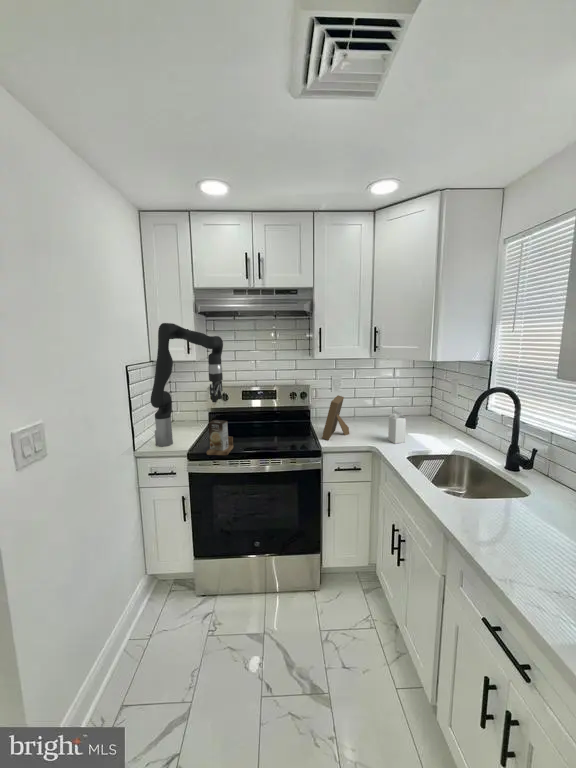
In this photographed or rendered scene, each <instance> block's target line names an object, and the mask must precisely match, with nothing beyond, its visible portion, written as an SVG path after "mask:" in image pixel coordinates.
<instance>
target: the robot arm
mask: <svg viewBox="0 0 576 768" xmlns="http://www.w3.org/2000/svg"><path fill="white" fill-rule="evenodd" d="M174 339H175V340H176V339H177V340H185V341H187V342H189V343H191V344H193V345H197V346H201V347H203V348H205V349H207V350H211V353H209V354H208V356H207V357H208V360H207V361H208V367H207V371H208V381H209V382H211V383H210V384H209V395H210V396H211V401H212V403H217V400H222V393H223V380H224V379H223V378H224V377H223V366H222V365H223V364H222V354H223V348H224V342H223V338H222V337H221V336H219V335H207V334H206V333H203V332H199V331H195V330H191V329H190V330H189V329H188V328H184V327H182V326H180V325H178V324H175V323H173V322H172V323H171V322H162V323H161V324H160V325H159V326H158V331H157V352H156V353H157V356H156V361H155V372H154V380H153V386H152V391H151V394H150V404H151V406H152V407H153V408H155V409H157V411H156V412H155V413H154V422H155V430H154V441H155V446H157V445H158V446H157V447H168V446H171V445H173V443H174V441H173V440H174V439H173V427H172V411H173V408H172V407H173V405H172V403H173V402H172V395H171V394H170V393H169V391H166V390H165V387H166V384H167V383H168V381H169V379H170V377H171V375H172V372H173V366H174V365H173V364H174V361H173V357H172V354H171V353H170V348H169V346H170V345H169V344H170V340H174Z"/></svg>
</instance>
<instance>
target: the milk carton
mask: <svg viewBox="0 0 576 768" xmlns="http://www.w3.org/2000/svg"><path fill="white" fill-rule="evenodd" d="M406 423H407V418H406V417H405V416H404V415H403V414H402V412H400V411H398V410H395V409H394V410H393V412H392V413H391V414H390V415H389V416H388V436H387V437H388V439H387V441H389V442H390V443H392V444H395V445H396V444H402V443H403V444H404V443H406V429H407V428H406Z"/></svg>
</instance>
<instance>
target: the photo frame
mask: <svg viewBox="0 0 576 768" xmlns="http://www.w3.org/2000/svg"><path fill="white" fill-rule="evenodd" d="M344 399H345V397H344V396H342V395H336V396H335V397H334V398H333V399H332V400H331V401H330V404H329V409H328V413H327V416H326V421H325V424H324V428H323V432H322V436H321V439H323V440H326V441H329V440H330V439H331V437H332V436H333V435H334V434H335V432H336V430H337V426H338V423H339V426H340V428H341V431H342V432H343V435H344V436H348V435H350V429H349V428H350V427H349V426H348V425H347V423H345V421H344V420H343V418H341V416H340V413H341V411H342V407H343V402H344Z"/></svg>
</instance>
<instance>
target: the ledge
mask: <svg viewBox="0 0 576 768" xmlns="http://www.w3.org/2000/svg"><path fill="white" fill-rule="evenodd" d="M233 449H234V436H228V448H227V449H225V450H224V451H220V450H212V449H210V447H209V449H207V450H206V455H208V456H228V455H229V453H231V451H232V450H233Z"/></svg>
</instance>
